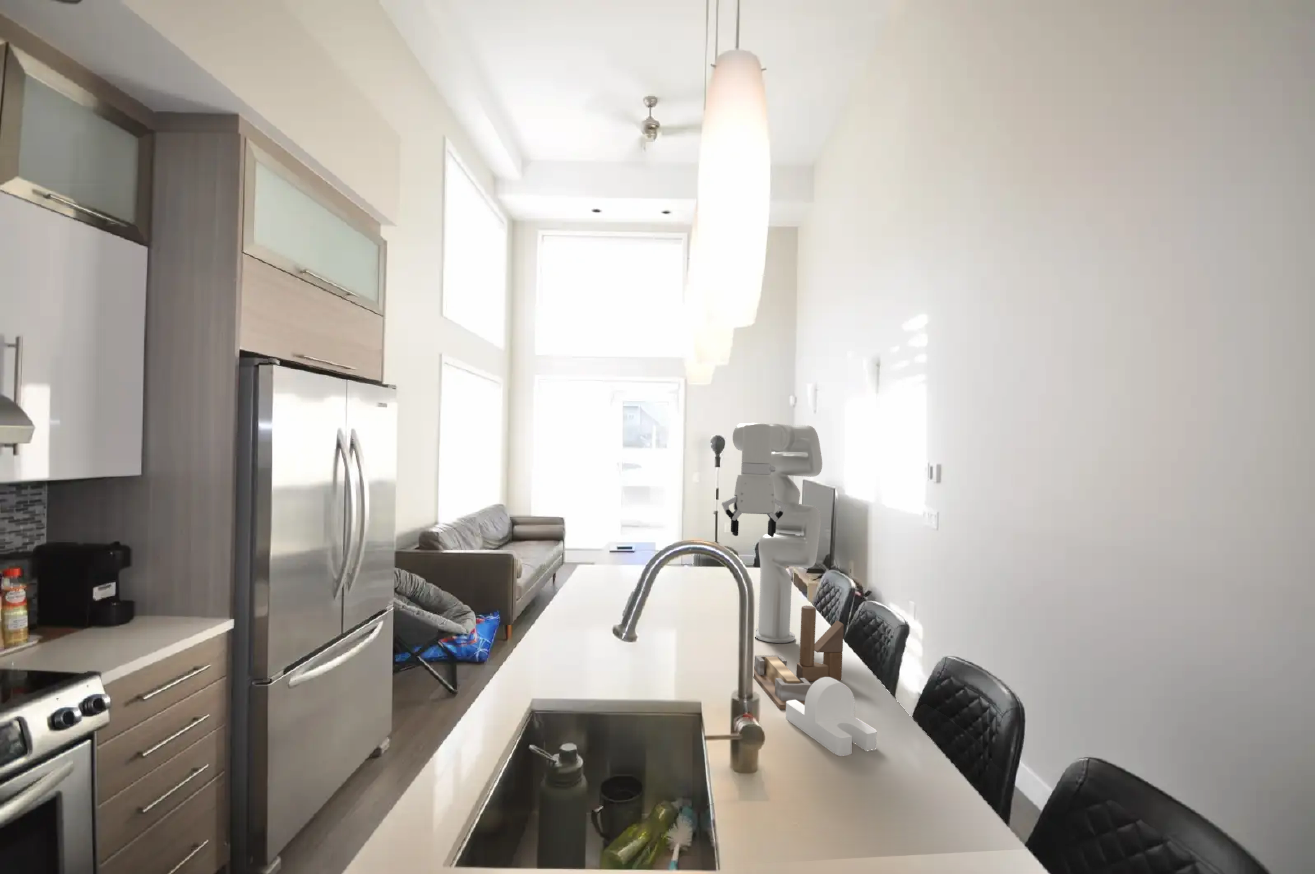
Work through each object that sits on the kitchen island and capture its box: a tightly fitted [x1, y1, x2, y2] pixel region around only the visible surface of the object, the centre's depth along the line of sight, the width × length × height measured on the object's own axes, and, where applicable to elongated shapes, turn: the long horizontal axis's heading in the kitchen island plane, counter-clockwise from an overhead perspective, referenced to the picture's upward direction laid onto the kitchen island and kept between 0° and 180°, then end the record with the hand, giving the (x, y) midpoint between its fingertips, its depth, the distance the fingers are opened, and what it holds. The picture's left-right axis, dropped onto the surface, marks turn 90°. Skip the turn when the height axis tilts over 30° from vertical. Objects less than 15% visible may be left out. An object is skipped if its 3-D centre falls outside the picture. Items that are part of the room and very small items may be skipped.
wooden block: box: [795, 605, 844, 682], centre depth 157 cm, size 4×11×18 cm, turn 102°
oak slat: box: [765, 657, 800, 685], centre depth 148 cm, size 16×3×4 cm, turn 8°
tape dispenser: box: [785, 677, 878, 757], centre depth 126 cm, size 10×18×11 cm, turn 23°
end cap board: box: [753, 654, 812, 710], centre depth 149 cm, size 24×9×4 cm, turn 8°
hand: (753, 535), depth 163 cm, fingers open, 9 cm apart
